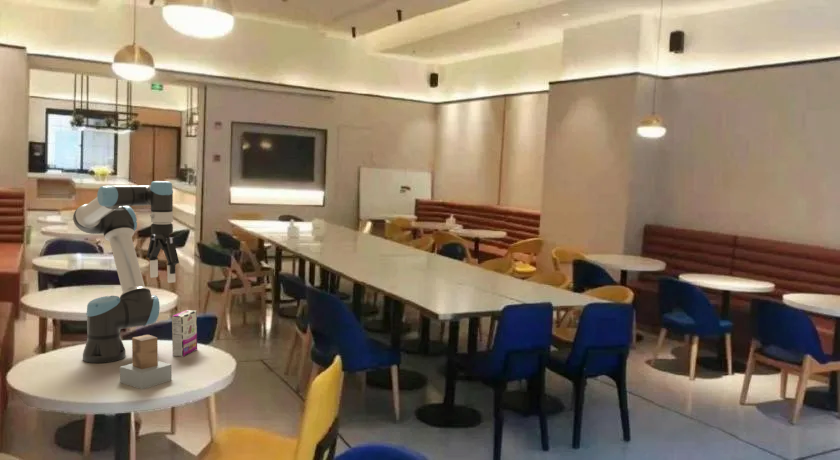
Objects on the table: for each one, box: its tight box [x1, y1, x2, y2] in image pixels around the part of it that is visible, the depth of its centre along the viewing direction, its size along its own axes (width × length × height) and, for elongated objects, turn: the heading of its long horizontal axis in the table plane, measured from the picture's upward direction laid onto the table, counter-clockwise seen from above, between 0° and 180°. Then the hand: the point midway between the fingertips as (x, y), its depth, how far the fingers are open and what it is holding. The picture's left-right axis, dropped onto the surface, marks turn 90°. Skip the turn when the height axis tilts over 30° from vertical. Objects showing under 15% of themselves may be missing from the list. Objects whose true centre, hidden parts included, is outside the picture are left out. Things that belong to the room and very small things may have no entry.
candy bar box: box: [171, 309, 198, 358], centre depth 277 cm, size 11×5×16 cm, turn 168°
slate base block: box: [119, 360, 172, 390], centre depth 242 cm, size 12×12×6 cm
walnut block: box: [131, 334, 159, 369], centre depth 241 cm, size 6×6×10 cm
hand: (162, 279), depth 257 cm, fingers open, 13 cm apart
